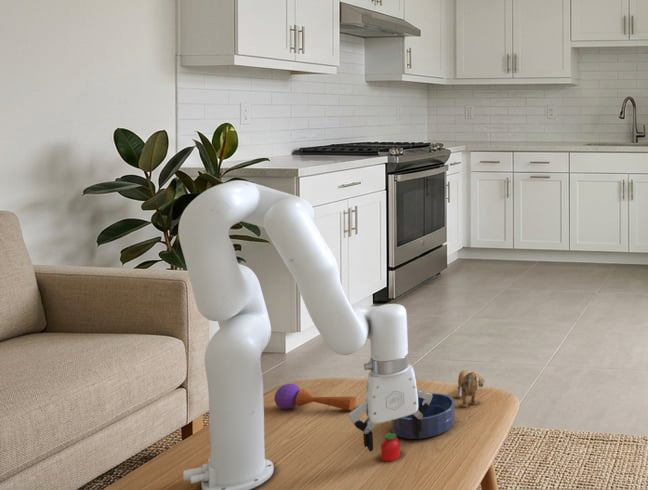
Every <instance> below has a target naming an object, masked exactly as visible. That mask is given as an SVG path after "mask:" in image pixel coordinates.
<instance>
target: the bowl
mask: <svg viewBox="0 0 648 490" xmlns="http://www.w3.org/2000/svg"><path fill="white" fill-rule="evenodd" d="M430 393H431V394H432V395H433V397H432V400H431V402H430V404H429V408H428V409H427V410H426V412H425V413H424V414H423V417H422V419H421V431H420V432H419V438H416V437H415V436H414V435H413V433H412V415H413V414H412V415H409V416H406V417H402V418H398V419H395V420H391V421H390V423H391V432H392V433H395V434H396V437H399V438H403V439H414V440H415V439H417V440H418V439H427V438H431V437H435V436H438V435H440V434H443V433H445V432H447V431H448V430H450V429H451V428H452V427H453V425H454V424H455V423H456V415H455V413H456V412H455V411H456V410H455V405H456V404H455V399H454V398H453V397H452V396H450V395H448V394H444V393H440V392H439V393H438V392H437V393H435V392H433V393H432V392H430ZM423 400H424V398H420V397H418V407H419V406H420V405H421V404H422V402H423Z"/></svg>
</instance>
